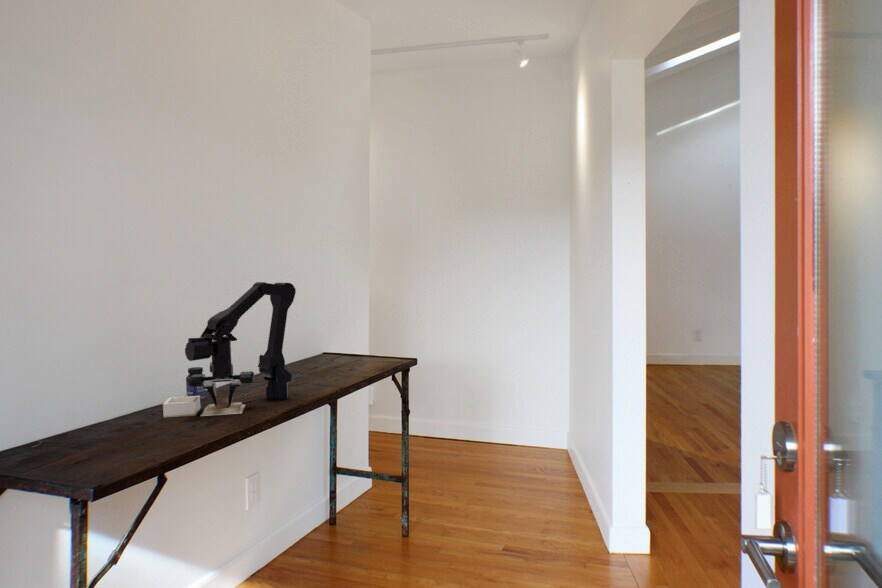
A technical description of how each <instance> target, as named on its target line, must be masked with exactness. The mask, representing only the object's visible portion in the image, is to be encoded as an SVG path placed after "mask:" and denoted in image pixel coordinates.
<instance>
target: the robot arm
mask: <svg viewBox="0 0 882 588" xmlns="http://www.w3.org/2000/svg"><path fill="white" fill-rule="evenodd" d="M296 291H297V289H296V287H295V286H294V284H293V283H291V282H275V283H268V282H265V281H257V282H255V283H253V284H252V286H250V288H249V289H248V290H247V291H246V292H245V293H243V294H242V295H241V296H240V297H239V298H238V299H237V300H236V301H235V302H233V304H231V305H230V306H229V307H227V308H226V309H224V310H222V311H219V312H217V313H216V314H215V315H213V316H211V317H210V318H209V319H208V320H207V322H206V323H207V325H206V327H205V328H204V330H203V332H202V333H201V335H200V337H188V339H187V340H188V341H187V342H186V345H185V347H184V353H185V354H184V355H185V357H186V359H187V360H188V361H189V362H193V361H199V360H205V359H210V358H211V362H209V372H210V374H212V375H211V376H206V374H205V373H202V374H196V375H193V376H192V377H191V378H190V379H189V386H190V387H193V386H200V385H201V384H202V383H203V384H204V386H203V388H204V389H206V391H208V394H209V395H210V397H211V399H212V402H213V404H215V406H216V407H217V402H216V397H217V396H218V394H217V387H216V386H217V385H216V383H222V382H223V383H224V382H230V384H229V390H228V391H229V393H228V394H229V406H231V403H233V399H234V394H235V392H236V389H237V387H240V386H241V385H242V384H252V383H254V382H255V373H254V372H253V371H251V370H250V371H241V372H240V373H239V374H234V366H233V365H234V364H233V363H232V347H231V345H232V344H231V342H235V341H236V342H237V341H238V338H237V337H236V336H234V335H233V334H232V332H233V331H234V329H235V328H237V325H238V323H239V320H240V319H241V318H242V316H243V315H244V314H246V313H247V312H248V310H250V309H251V308H252V307H254V306H255V304H256V303H257V302H259V301H260V300H261V299H262V298H263V297H264V296H265V295H266V296H269V300H270V303H271V305H272V313H271V320H270V327H269V335H268V340H267V348H266V351H265V353H264V355H263V354H260V355H259V357H258V359H259V360H258V365H257V367H258V371H259V373H260V375H261V376H262V378H263V381H266V382H267V385H266V386H265V391H266V392H265V395H266V398H265V399H266V400H267V402H274V401H277V402H278V401H287V400H289V394H288V393H289V391H288V389H289V388H288V383H289V382H291V381H292V377H293V375H292V374H291V373H290V372H289V370H287V369H286V360H285V357H284V355H283V348H284V339H285V332H286V326H287V317H288V311H289V310H290V307H291V306H292V304H293V303H294V300H295V296H296Z"/></svg>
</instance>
